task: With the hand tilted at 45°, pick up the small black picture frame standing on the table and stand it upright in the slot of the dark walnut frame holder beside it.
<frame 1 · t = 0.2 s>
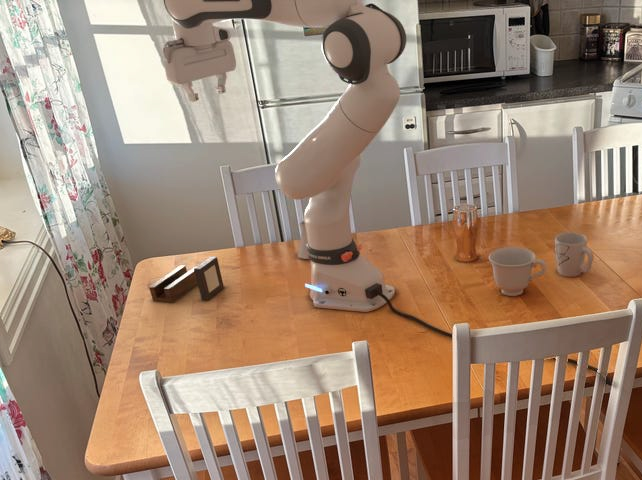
hand: (208, 96, 178), 48 cm above the table, tool pointing down, fingers open, 8 cm apart
holder: (178, 290, 196), on the table
mug: (573, 274, 198), on the table
beer glass: (466, 258, 209), on the table
frame: (213, 293, 193), on the table
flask: (310, 255, 214), on the table
teacup: (517, 292, 190), on the table
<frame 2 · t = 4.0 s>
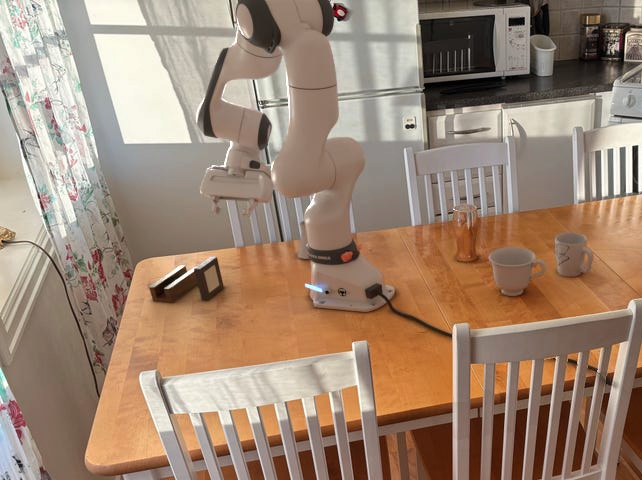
hand: (230, 214, 198), 16 cm above the table, tool tilted 45°, fingers open, 8 cm apart
nothing on the table moved.
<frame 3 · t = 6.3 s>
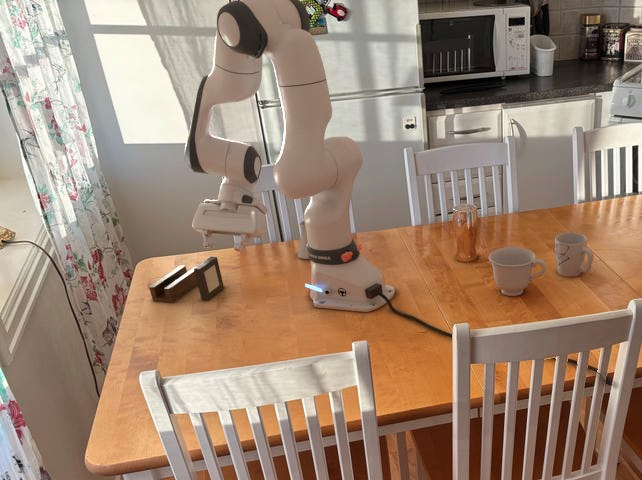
hand: (222, 249, 195), 9 cm above the table, tool tilted 45°, fingers open, 8 cm apart
nothing on the table moved.
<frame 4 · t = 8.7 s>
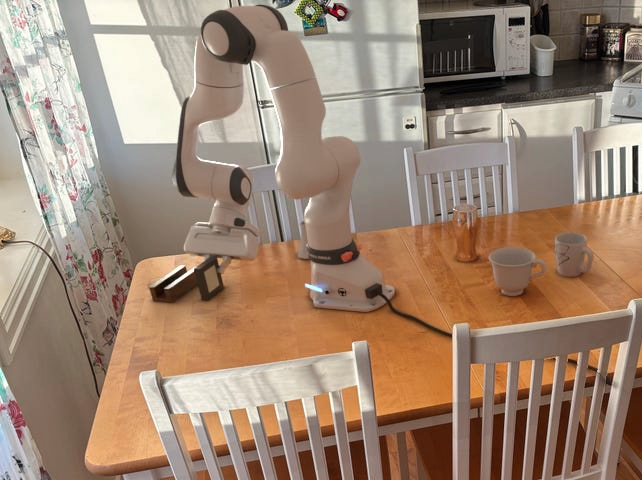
hand: (214, 272, 193), 5 cm above the table, tool tilted 45°, fingers closed on frame, 2 cm apart
frame: (213, 293, 193), on the table, touching gripper
everything else where it was.
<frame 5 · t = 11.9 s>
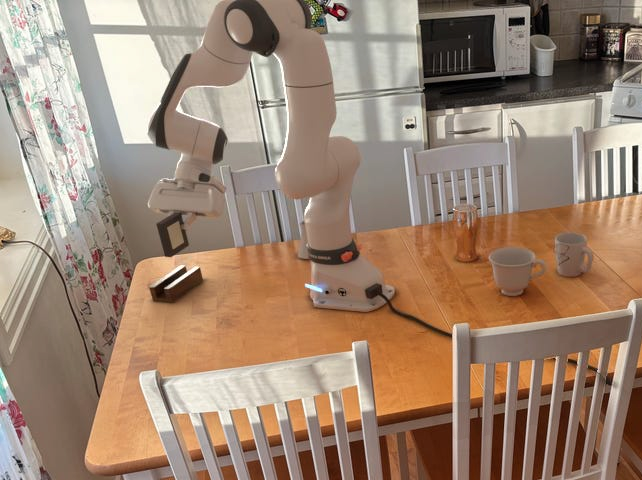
hand: (178, 229, 189), 17 cm above the table, tool tilted 45°, fingers closed on frame
frame: (177, 251, 189), point 12 cm above the table, touching gripper
everything else where it was.
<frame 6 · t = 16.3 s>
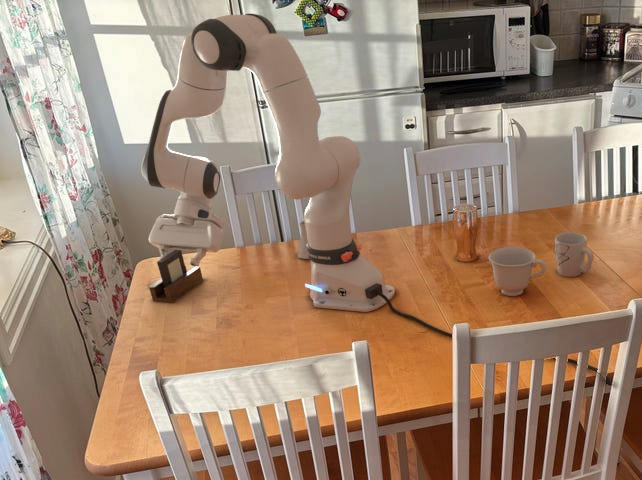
hand: (178, 264, 194), 7 cm above the table, tool tilted 45°, fingers open, 8 cm apart
frame: (177, 286, 195), point 1 cm above the table, touching holder
everything else where it was.
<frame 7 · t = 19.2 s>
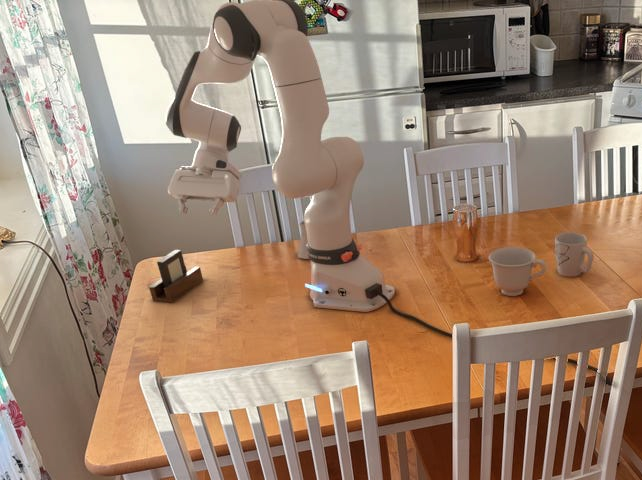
hand: (197, 213, 200), 16 cm above the table, tool tilted 45°, fingers open, 8 cm apart
nothing on the table moved.
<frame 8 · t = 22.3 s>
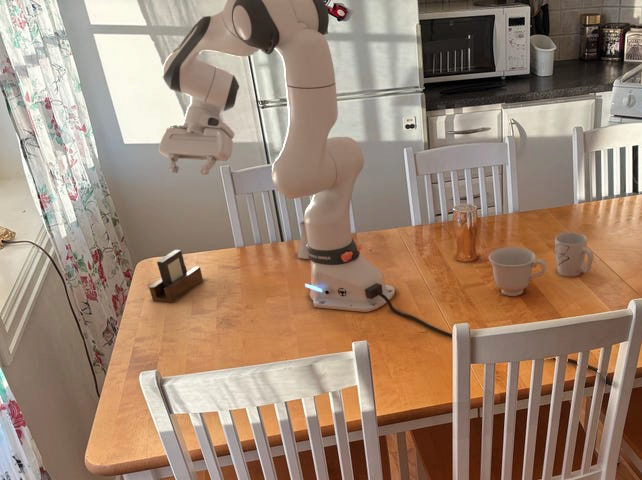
hand: (188, 172, 194), 27 cm above the table, tool tilted 45°, fingers open, 8 cm apart
nothing on the table moved.
at the end: frame inside the target area on the holder (0.1 cm from its centre), point 1.0 cm above the holder's base; frame tilted 0°; the gripper is holding nothing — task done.
